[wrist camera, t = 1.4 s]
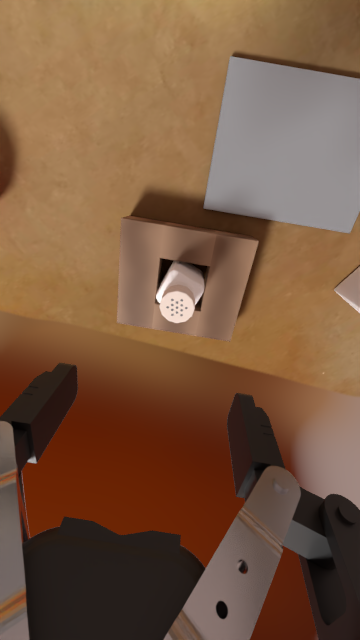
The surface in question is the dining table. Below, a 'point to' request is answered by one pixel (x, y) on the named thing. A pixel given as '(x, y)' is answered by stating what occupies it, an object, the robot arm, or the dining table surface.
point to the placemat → (287, 146)
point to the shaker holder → (192, 247)
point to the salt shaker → (180, 291)
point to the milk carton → (351, 289)
